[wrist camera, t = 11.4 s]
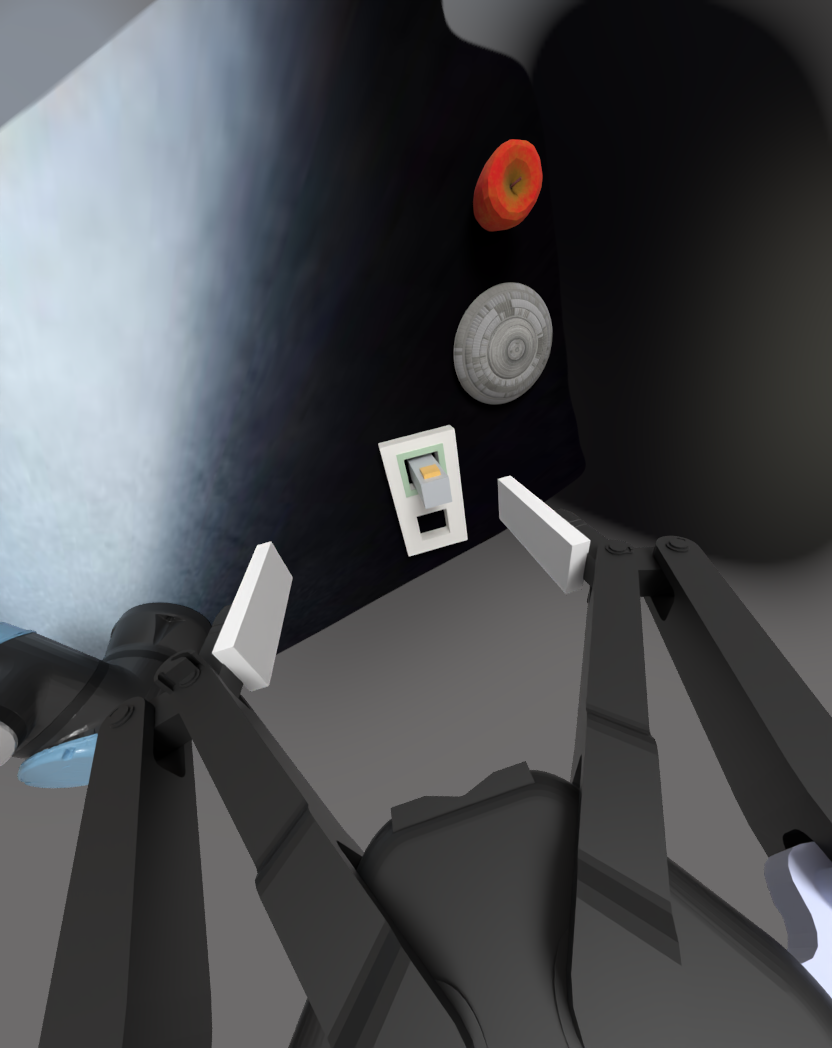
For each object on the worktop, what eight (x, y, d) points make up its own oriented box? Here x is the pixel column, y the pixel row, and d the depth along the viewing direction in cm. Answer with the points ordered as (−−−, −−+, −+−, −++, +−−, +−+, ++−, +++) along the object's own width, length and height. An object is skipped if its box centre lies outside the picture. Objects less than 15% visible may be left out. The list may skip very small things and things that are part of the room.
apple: (475, 254, 37) (501, 237, 31) (454, 191, 34) (479, 157, 28) (519, 222, 36) (555, 198, 30) (502, 154, 33) (539, 111, 27)
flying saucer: (455, 280, 38) (470, 272, 34) (558, 287, 41) (584, 281, 37) (446, 403, 46) (457, 410, 42) (532, 402, 49) (552, 408, 44)
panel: (406, 548, 59) (409, 557, 57) (377, 443, 47) (379, 448, 45) (463, 532, 60) (467, 540, 58) (449, 424, 48) (454, 429, 46)
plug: (411, 479, 51) (425, 509, 42) (405, 453, 49) (419, 479, 40) (433, 473, 52) (452, 501, 42) (428, 447, 49) (448, 472, 40)
